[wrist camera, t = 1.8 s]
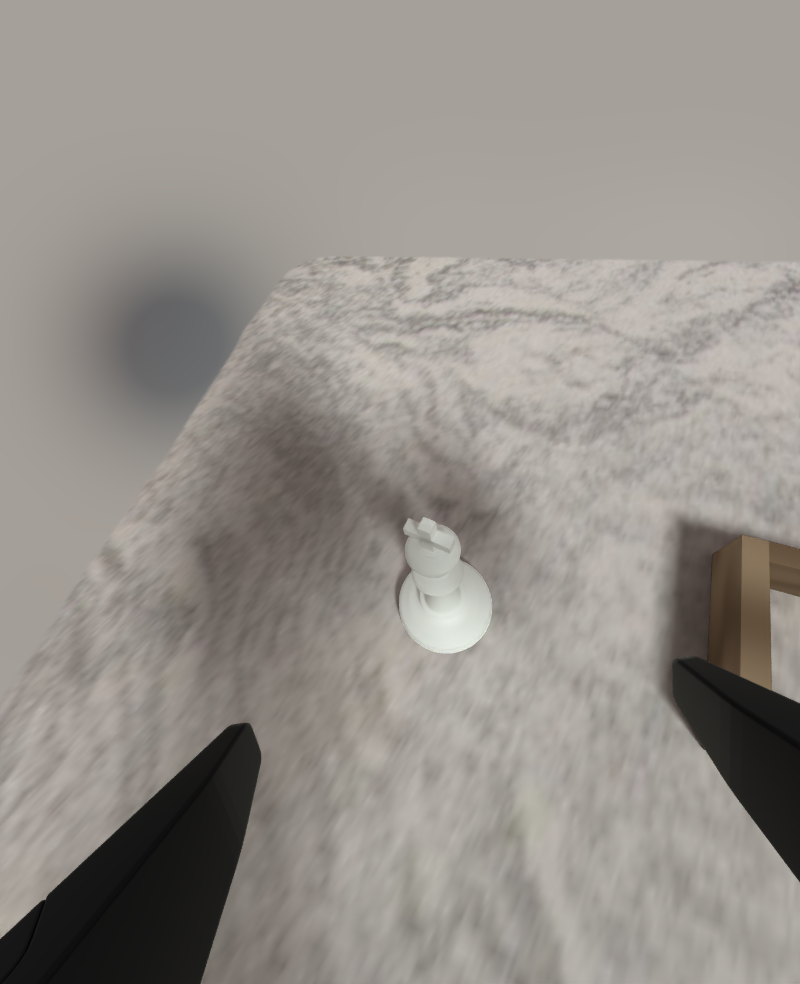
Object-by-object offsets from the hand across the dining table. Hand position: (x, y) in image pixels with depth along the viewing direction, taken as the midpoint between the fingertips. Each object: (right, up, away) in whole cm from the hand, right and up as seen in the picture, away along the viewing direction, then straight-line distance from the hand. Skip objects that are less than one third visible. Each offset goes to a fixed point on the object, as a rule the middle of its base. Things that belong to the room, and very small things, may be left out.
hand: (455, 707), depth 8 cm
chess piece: (+1, -2, +13) cm, 13 cm away
